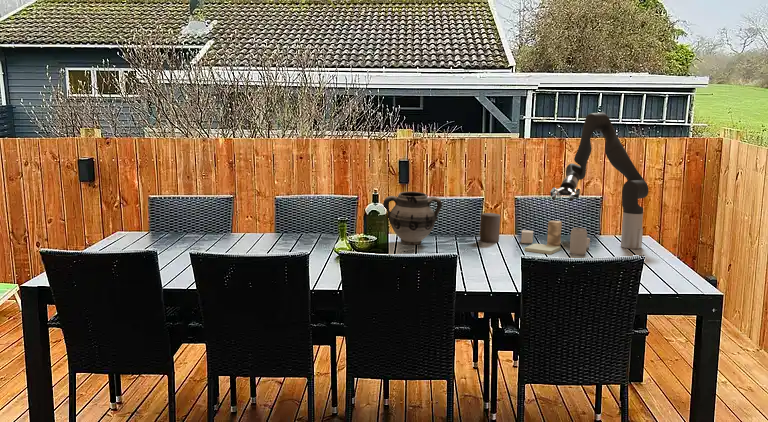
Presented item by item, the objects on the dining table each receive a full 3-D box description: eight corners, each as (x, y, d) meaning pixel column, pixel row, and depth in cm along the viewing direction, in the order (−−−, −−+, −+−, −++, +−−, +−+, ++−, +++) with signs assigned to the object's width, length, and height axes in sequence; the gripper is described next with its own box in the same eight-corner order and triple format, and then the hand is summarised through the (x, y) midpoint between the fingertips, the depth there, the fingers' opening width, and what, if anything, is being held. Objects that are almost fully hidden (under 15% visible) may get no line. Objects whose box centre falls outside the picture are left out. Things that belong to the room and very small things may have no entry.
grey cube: (532, 241, 350) (533, 230, 349) (532, 243, 345) (532, 232, 344) (521, 240, 351) (522, 230, 351) (521, 242, 346) (521, 231, 345)
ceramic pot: (440, 239, 350) (442, 190, 346) (441, 248, 327) (442, 196, 323) (384, 237, 351) (385, 189, 348) (380, 246, 329) (381, 195, 325)
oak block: (560, 245, 341) (561, 221, 339) (556, 246, 337) (558, 222, 335) (550, 243, 344) (551, 220, 342) (547, 245, 340) (548, 221, 338)
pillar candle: (478, 241, 345) (479, 212, 343) (481, 238, 355) (482, 209, 352) (497, 243, 343) (499, 214, 340) (500, 240, 352) (501, 211, 350)
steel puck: (590, 248, 335) (591, 238, 335) (587, 250, 330) (587, 240, 330) (578, 246, 339) (579, 236, 338) (574, 248, 334) (575, 238, 333)
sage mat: (560, 249, 330) (560, 246, 330) (550, 254, 319) (551, 251, 319) (534, 246, 337) (534, 243, 337) (524, 250, 326) (524, 247, 326)
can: (584, 252, 325) (585, 227, 323) (587, 255, 318) (589, 230, 316) (568, 251, 326) (569, 226, 324) (570, 255, 318) (572, 229, 317)
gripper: (555, 177, 362) (547, 191, 349) (582, 179, 355) (576, 193, 343) (555, 190, 365) (548, 204, 353) (583, 192, 359) (576, 206, 346)
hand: (561, 199), depth 348 cm, fingers open, 8 cm apart
